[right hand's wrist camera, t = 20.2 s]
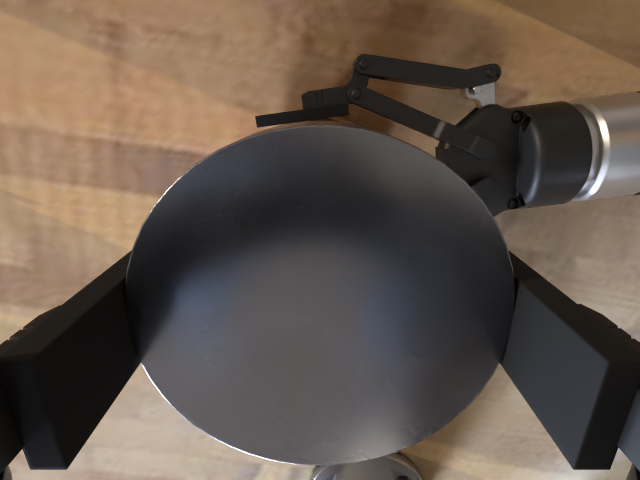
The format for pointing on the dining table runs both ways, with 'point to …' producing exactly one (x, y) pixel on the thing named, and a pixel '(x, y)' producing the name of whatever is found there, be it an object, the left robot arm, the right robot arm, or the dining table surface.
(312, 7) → the dining table surface
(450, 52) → the dining table surface
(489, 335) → the lid
